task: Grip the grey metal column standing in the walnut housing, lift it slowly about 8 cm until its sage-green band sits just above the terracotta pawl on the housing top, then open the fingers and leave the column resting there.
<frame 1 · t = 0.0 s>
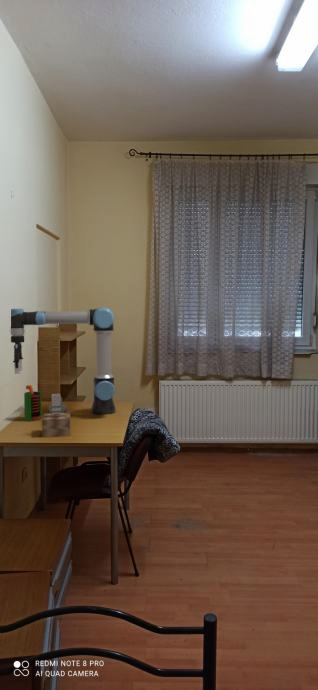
hand: (18, 372, 298), 28 cm above the table, fingers open, 13 cm apart
motor: (32, 419, 302), on the table
column: (56, 413, 269), point 10 cm above the table, slide at 0.0 cm
housing: (56, 433, 270), on the table
air freshener: (57, 413, 318), on the table
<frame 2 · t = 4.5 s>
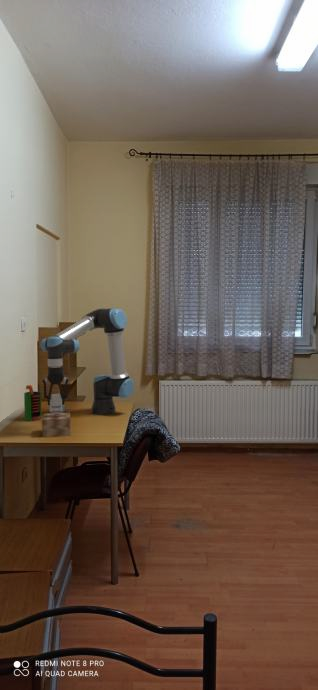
hand: (56, 410, 269), 12 cm above the table, fingers closed on column, 5 cm apart
column: (56, 413, 269), point 10 cm above the table, slide at 0.0 cm, touching gripper
everything else where it was.
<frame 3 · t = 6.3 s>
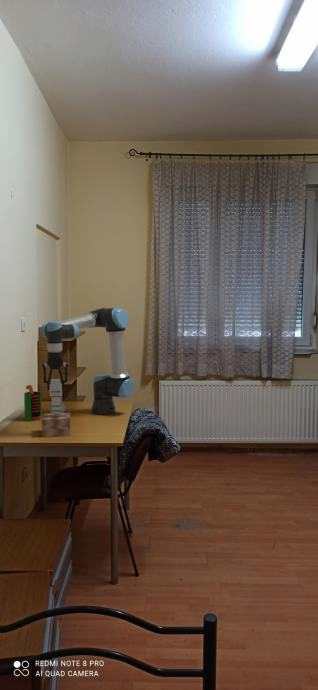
hand: (55, 395, 268), 20 cm above the table, fingers closed on column, 5 cm apart
column: (56, 398, 268), point 18 cm above the table, slide at 7.9 cm, touching gripper
everything else where it was.
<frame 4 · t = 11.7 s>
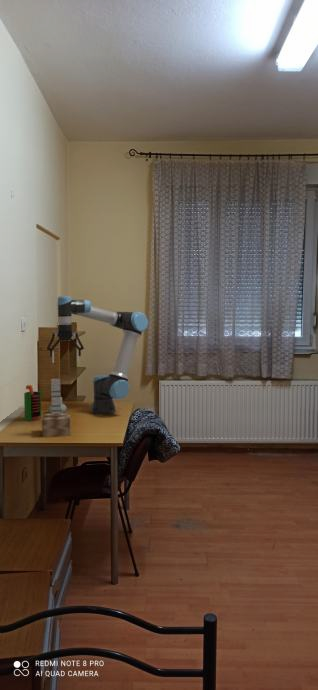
hand: (65, 362, 287), 35 cm above the table, fingers open, 13 cm apart
column: (56, 398, 268), point 18 cm above the table, slide at 8.0 cm
everything else where it was.
at the end: column slide at 8.0 cm; the gripper is holding nothing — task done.
